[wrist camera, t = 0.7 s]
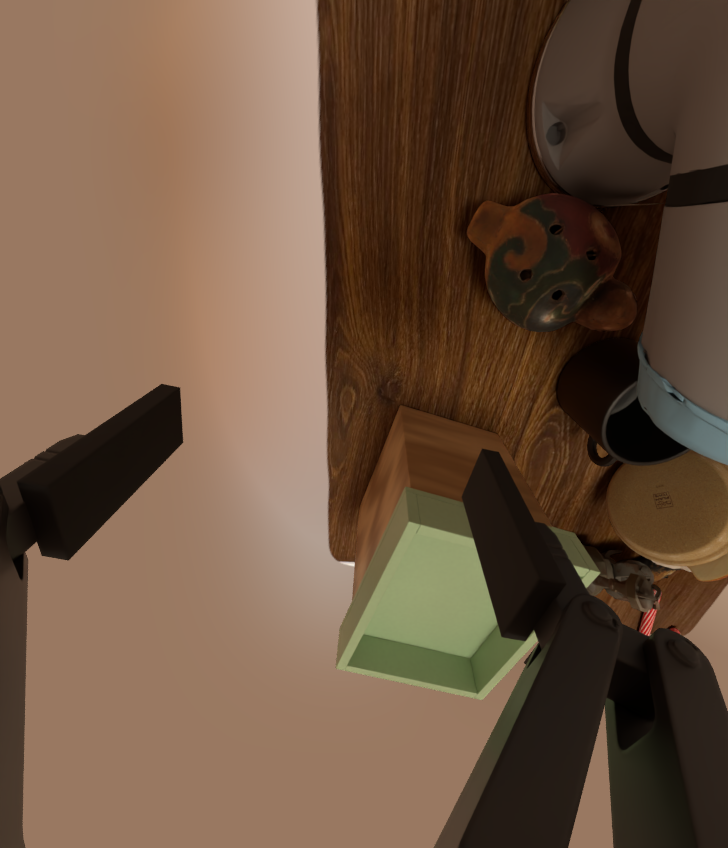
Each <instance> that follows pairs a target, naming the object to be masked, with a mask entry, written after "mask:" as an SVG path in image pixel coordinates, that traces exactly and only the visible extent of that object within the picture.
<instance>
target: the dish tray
mask: <svg viewBox="0 0 728 848" xmlns="http://www.w3.org/2000/svg"><path fill="white" fill-rule="evenodd" d="M548 527H549V528H550V529H551V530H552V531H553V532H554V533H555V534H556V536H557V537H558V539H559V541H560V543H561V544H562V546H563V549H564V550H565V551H566V553H567V555H568V559H570V560H571V562H572V564H573V566H574V567H575V569H576V571H577V573H578V575H579V576H580V578H581V580H582V582H583V583H584V585H585V587H586V588H587V587H588V586H589V585H590V584H591V583H592V582H593V581H594V579H595V578H596V577H597V576H598V575H599V574H600V571H599V569H598V568H597V566H596V565H595V563H594V562H593V560H592V559H591V557H590V556H589V554H588V553H587V551H586V550H585V548H584V546H583V545H582V543H581V542H580V540H579V539H578V538H577V536H576V534H575V533H572V532H569V531H565V530H561V529H558V528H554V527H551V526H548ZM536 641H538V640H537V637H536V634H535V631H534V630H533V632H532V633H531V634H530V636H529V637H528V638H527V640H526V641H520V640H514V639H509V638H503V637H501V634H500V630H499V627H498V623H497V620H496V616H495V613H494V609H493V606H492V602H491V599H490V595H489V592H488V588H487V585H486V581H485V578H484V574H483V570H482V567H481V563H480V560H479V556H478V553H477V549H476V546H475V542H474V539H473V535H472V532H471V528H470V525H469V521H468V518H467V514H466V511H465V507H464V504H463V502H460V501H456V500H453V499H449V498H446V497H442V496H438V495H435V494H431V493H428V492H424V491H420V490H417V489H413V488H409V487H405V488H404V490H403V492H402V494H401V496H400V499H399V501H398V503H397V505H396V507H395V509H394V512H393V514H392V516H391V518H390V520H389V522H388V525H387V527H386V529H385V531H384V533H383V535H382V538H381V540H380V542H379V544H378V546H377V548H376V551H375V553H374V555H373V557H372V559H371V561H370V564H369V566H368V568H367V570H366V572H365V574H364V577H363V579H362V581H361V583H360V585H359V587H358V590H357V592H356V594H355V596H354V598H353V600H352V603H351V605H350V607H349V609H348V611H347V613H346V616H345V618H344V620H343V622H342V625H341V626H340V632H339V641H338V651H337V660H336V669H340V670H345V671H349V672H354V673H359V674H364V675H369V676H373V677H377V678H382V679H387V680H391V681H396V682H401V683H405V684H411V685H415V686H419V687H424V688H429V689H434V690H439V691H443V692H448V693H452V694H457V695H462V696H466V697H471V698H475V699H480V700H483V699H484V697H485V696H486V695H487V694H488V693H489V692H490V691H491V690H492V689H493V688H494V687H495V686H496V684H498V682H499V681H500V680H501V679H502V678H503V677H504V676H505V675H506V674H507V673H508V672H509V670H511V668H512V667H513V666H514V665H515V664H516V663H517V662H518V661H519V660H520V659H521V658H522V657H523V656H524V655H525V654H526V652H527V651H528V650H529V649H530V648H531V647H532V646H533V645H534V644H535V643H536Z"/></svg>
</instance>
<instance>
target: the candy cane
mask: <svg viewBox="0 0 728 848" xmlns="http://www.w3.org/2000/svg"><path fill="white" fill-rule="evenodd" d="M653 591H654V596H655V594H656V592H657V591H656V590H654V589H653ZM661 593H662V592H661ZM661 595H662V594H661ZM660 599H661V597H660ZM660 599H659V600H658V602H660ZM656 600H657V599H656ZM654 604H655V603H654ZM656 612H657V610H655V609H653V608H652V609H651V610H648V613H647V612H644V613H643V617H642V621H641V624H640V628H639V632H641V633H643V634H645V635H647V636H650V633H651V629H652V626H653V622H654V619H655V616H656ZM669 630H672V631H674V632H677V633H679V634H680V631H679V630H678V629H676V628H670V629H669ZM680 635H681V634H680Z"/></svg>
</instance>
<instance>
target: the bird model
mask: <svg viewBox="0 0 728 848" xmlns="http://www.w3.org/2000/svg"><path fill="white" fill-rule="evenodd" d="M639 562H641V563H643V564H645V565H646V566H648V567H649V568H650V570H651V571H652V573H653V575H654V581H658V580H661V579H663V578H668V575H670V574H672V573H673V572H674V571H676V570H681V569H682V568H681V569H672V568H668V567H664V566H661V565H657V564H656V563H654V562H652V561H651V560H650V559H647V558H644V559H642V560H639Z"/></svg>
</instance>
